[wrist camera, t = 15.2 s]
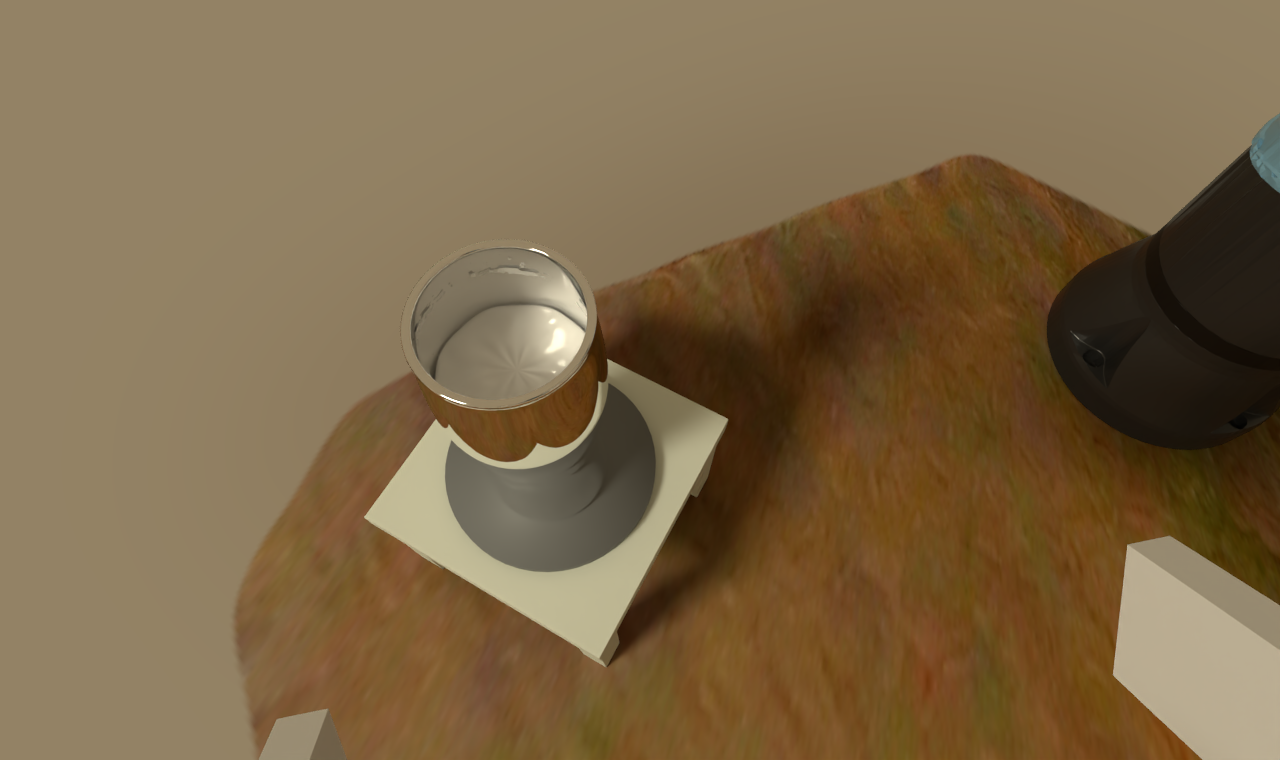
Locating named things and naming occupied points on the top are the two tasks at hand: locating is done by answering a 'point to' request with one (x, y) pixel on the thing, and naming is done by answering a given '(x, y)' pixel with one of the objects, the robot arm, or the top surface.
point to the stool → (574, 546)
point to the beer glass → (514, 370)
